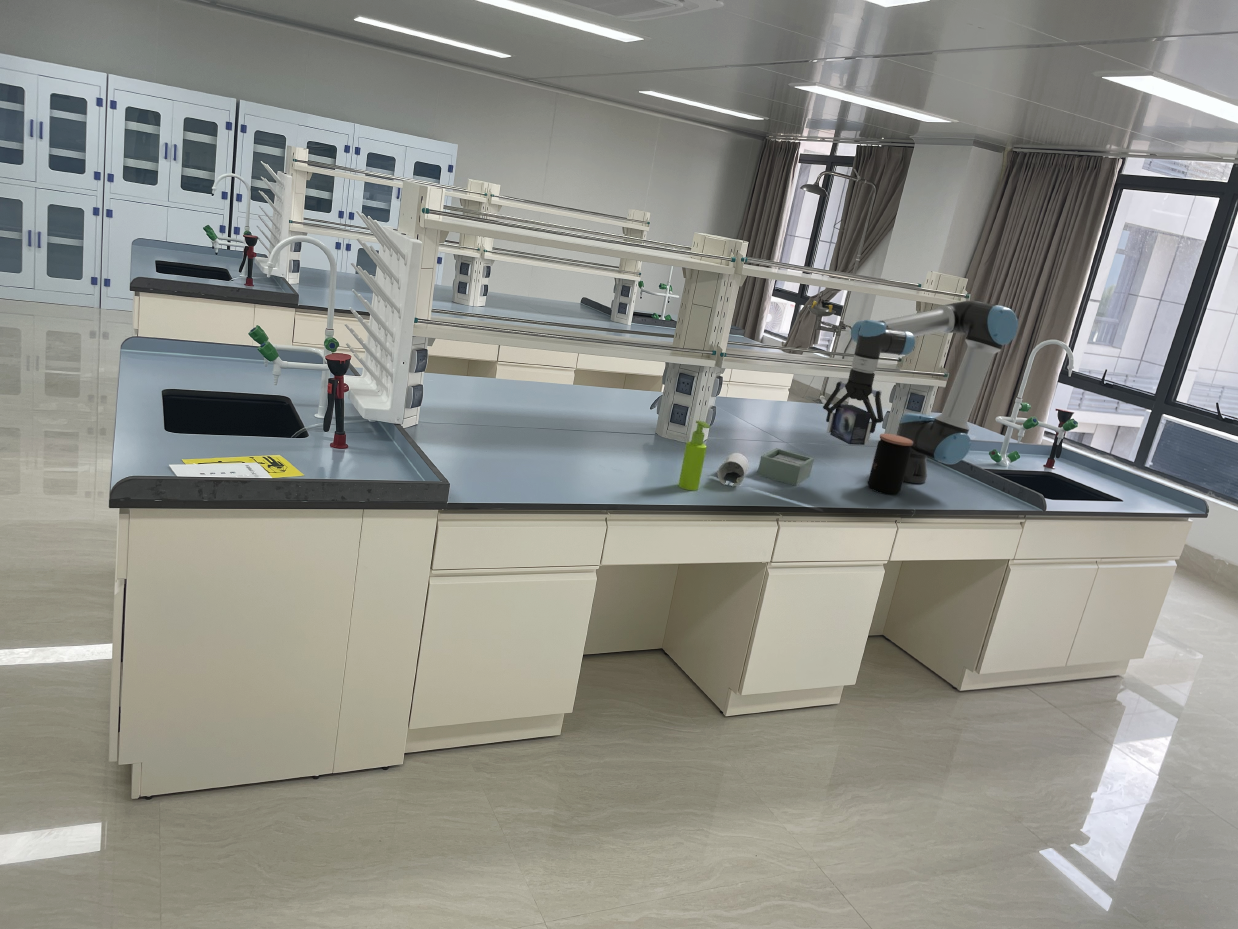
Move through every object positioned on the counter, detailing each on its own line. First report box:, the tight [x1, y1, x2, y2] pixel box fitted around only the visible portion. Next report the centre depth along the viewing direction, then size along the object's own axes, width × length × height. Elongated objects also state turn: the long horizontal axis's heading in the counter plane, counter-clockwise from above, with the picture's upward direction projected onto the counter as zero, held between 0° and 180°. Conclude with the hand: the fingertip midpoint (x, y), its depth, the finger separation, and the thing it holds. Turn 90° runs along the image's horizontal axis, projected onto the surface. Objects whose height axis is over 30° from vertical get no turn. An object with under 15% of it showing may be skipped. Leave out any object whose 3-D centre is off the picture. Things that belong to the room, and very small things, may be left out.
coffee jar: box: [867, 433, 913, 496], centre depth 287 cm, size 11×11×18 cm
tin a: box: [775, 454, 805, 464], centre depth 286 cm, size 9×6×5 cm
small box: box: [829, 403, 871, 446], centre depth 277 cm, size 11×6×10 cm, turn 23°
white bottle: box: [716, 452, 750, 487], centre depth 272 cm, size 8×19×8 cm, turn 165°
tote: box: [756, 447, 815, 487], centre depth 283 cm, size 13×16×7 cm
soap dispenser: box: [678, 420, 711, 491], centre depth 253 cm, size 6×7×20 cm
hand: (847, 437), depth 278 cm, fingers closed on small box, 11 cm apart
